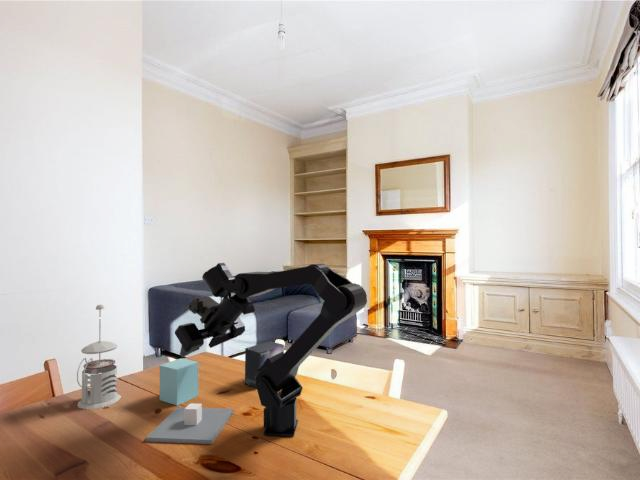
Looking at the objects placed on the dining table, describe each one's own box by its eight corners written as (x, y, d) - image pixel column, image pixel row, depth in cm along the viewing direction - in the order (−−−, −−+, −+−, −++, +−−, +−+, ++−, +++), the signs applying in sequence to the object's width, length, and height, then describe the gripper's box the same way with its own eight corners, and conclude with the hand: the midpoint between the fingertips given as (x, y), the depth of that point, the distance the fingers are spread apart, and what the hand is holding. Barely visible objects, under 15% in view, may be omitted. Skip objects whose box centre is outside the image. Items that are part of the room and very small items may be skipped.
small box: (259, 389, 101) (259, 352, 101) (243, 384, 105) (243, 348, 105) (285, 378, 109) (284, 343, 109) (269, 374, 113) (269, 340, 113)
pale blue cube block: (198, 395, 97) (198, 362, 97) (177, 405, 91) (177, 369, 91) (181, 390, 100) (181, 358, 100) (159, 399, 94) (159, 365, 94)
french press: (129, 393, 98) (129, 301, 99) (98, 413, 87) (99, 309, 87) (95, 392, 99) (95, 301, 100) (61, 411, 88) (61, 308, 88)
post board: (233, 412, 87) (233, 394, 87) (211, 444, 73) (212, 422, 73) (177, 410, 88) (177, 392, 88) (145, 441, 74) (145, 420, 74)
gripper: (236, 283, 98) (207, 319, 104) (180, 290, 82) (149, 333, 87) (259, 314, 94) (228, 351, 100) (204, 329, 78) (170, 372, 83)
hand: (196, 350), depth 93 cm, fingers open, 9 cm apart
